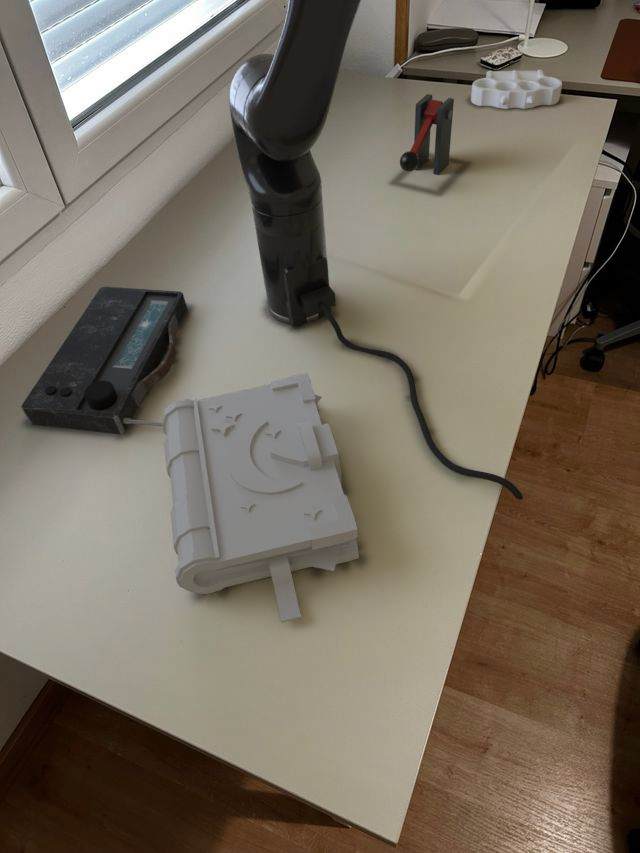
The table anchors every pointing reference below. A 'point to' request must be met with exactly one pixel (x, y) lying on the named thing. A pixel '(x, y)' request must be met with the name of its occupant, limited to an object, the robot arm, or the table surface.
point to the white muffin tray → (516, 89)
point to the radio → (109, 361)
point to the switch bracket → (441, 133)
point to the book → (256, 490)
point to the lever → (420, 137)
